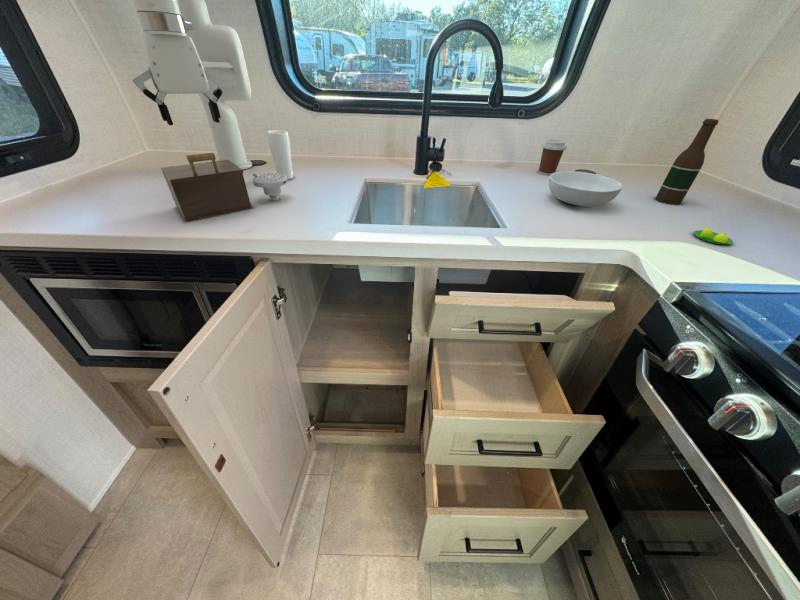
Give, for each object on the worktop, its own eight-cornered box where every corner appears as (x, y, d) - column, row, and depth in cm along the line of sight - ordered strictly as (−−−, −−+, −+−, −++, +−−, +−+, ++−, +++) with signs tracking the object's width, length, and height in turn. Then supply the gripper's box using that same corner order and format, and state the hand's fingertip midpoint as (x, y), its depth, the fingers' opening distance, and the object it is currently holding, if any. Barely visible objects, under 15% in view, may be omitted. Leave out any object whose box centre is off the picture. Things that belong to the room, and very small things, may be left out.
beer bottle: (673, 206, 101) (721, 121, 87) (649, 198, 107) (690, 117, 93) (686, 203, 104) (734, 120, 90) (662, 195, 110) (703, 117, 96)
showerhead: (261, 169, 96) (291, 172, 94) (266, 193, 100) (295, 196, 99) (243, 177, 88) (275, 180, 87) (249, 203, 93) (280, 206, 91)
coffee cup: (562, 174, 129) (573, 142, 122) (549, 177, 125) (559, 144, 118) (543, 169, 135) (552, 138, 128) (530, 171, 131) (538, 139, 124)
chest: (251, 208, 90) (242, 172, 84) (186, 221, 81) (170, 182, 75) (238, 196, 97) (228, 162, 91) (176, 207, 88) (162, 171, 82)
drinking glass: (299, 177, 115) (292, 131, 106) (286, 182, 110) (278, 134, 101) (284, 174, 117) (276, 129, 108) (271, 179, 112) (262, 132, 103)
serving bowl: (529, 194, 106) (535, 173, 102) (574, 189, 113) (582, 168, 109) (579, 217, 91) (588, 193, 87) (628, 209, 98) (638, 186, 94)
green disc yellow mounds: (698, 242, 80) (705, 232, 78) (688, 230, 86) (694, 220, 84) (737, 248, 78) (745, 238, 76) (723, 235, 84) (730, 225, 82)
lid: (243, 172, 83) (237, 151, 80) (171, 183, 74) (161, 159, 71) (228, 162, 91) (223, 142, 88) (162, 171, 82) (153, 149, 79)
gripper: (205, 31, 70) (228, 119, 80) (108, 23, 61) (147, 123, 71) (215, 29, 65) (238, 123, 76) (111, 20, 56) (153, 128, 66)
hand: (194, 123), depth 73 cm, fingers open, 9 cm apart
